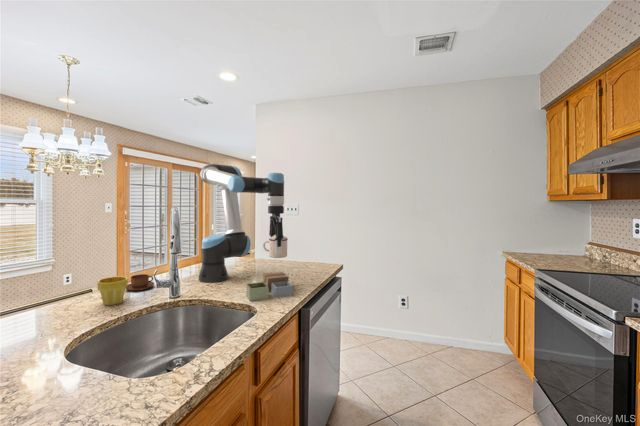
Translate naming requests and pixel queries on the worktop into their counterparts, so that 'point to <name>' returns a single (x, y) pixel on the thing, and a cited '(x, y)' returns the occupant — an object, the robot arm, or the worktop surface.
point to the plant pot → (112, 289)
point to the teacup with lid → (273, 247)
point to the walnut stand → (274, 278)
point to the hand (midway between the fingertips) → (275, 251)
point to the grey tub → (282, 289)
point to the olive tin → (257, 291)
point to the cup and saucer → (140, 282)
